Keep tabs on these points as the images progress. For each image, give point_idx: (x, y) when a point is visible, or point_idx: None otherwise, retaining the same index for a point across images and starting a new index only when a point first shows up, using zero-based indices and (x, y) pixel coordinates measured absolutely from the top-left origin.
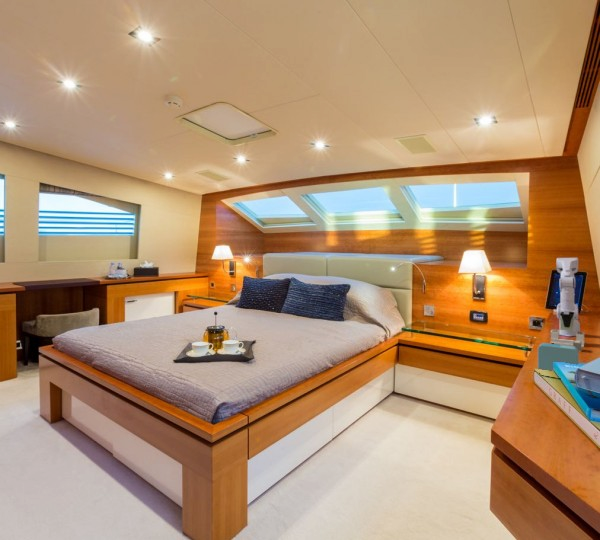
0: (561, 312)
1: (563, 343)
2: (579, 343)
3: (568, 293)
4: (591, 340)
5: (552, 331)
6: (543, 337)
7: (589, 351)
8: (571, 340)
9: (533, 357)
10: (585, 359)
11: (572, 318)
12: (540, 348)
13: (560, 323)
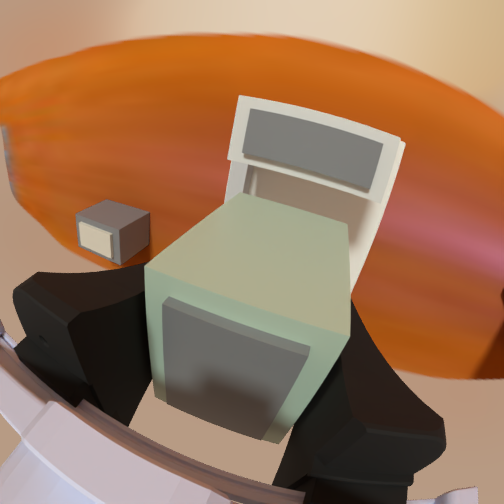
0: (356, 429)
1: (228, 179)
2: (78, 239)
3: None
4: (416, 364)
5: (251, 112)
6: (471, 106)
7: (131, 265)
8: (355, 261)
9: (7, 77)
10: (34, 213)
11: (156, 386)
12: None
13: (203, 220)
